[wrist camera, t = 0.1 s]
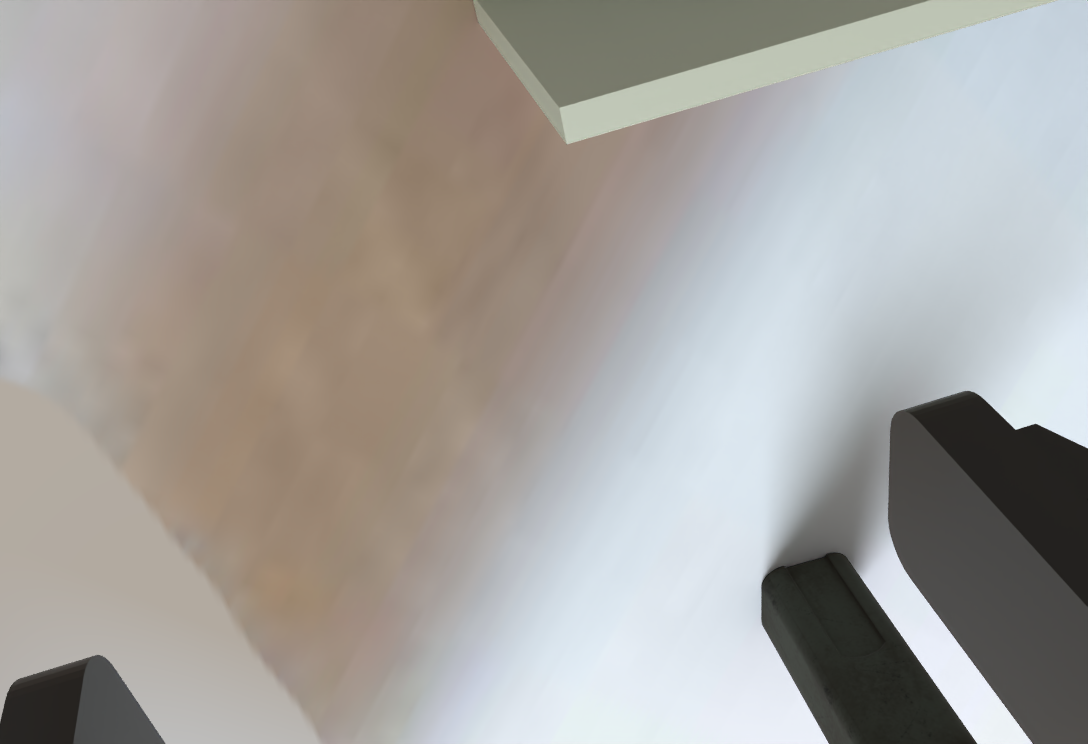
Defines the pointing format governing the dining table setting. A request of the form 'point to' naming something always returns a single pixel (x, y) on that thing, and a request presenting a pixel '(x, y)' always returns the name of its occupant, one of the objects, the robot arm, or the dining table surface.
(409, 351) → the dining table surface
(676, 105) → the sage green display stand
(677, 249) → the dining table surface
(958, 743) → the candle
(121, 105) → the dining table surface
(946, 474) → the robot arm
